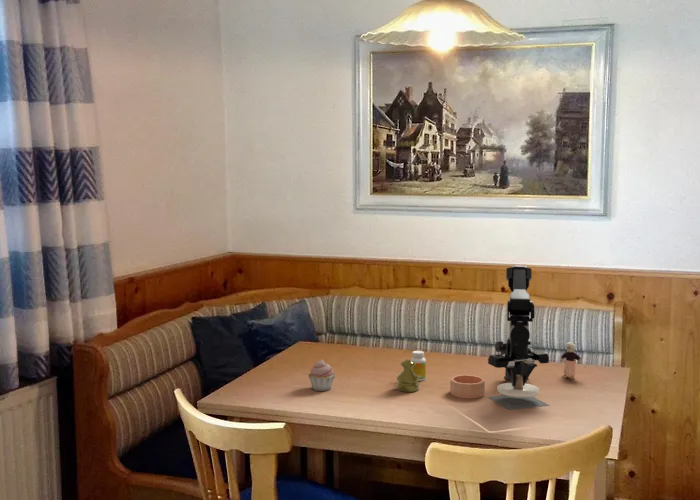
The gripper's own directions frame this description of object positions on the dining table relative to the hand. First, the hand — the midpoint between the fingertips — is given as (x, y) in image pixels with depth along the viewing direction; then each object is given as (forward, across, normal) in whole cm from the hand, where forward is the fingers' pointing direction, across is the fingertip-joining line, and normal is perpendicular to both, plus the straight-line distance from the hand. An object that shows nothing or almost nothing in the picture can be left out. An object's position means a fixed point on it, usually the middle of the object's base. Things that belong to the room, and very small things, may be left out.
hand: (518, 385), depth 245 cm
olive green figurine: (+6, +27, -25) cm, 37 cm away
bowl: (+6, +11, -13) cm, 18 cm away
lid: (+2, 0, 0) cm, 2 cm away
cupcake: (+6, +54, -35) cm, 65 cm away
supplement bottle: (+6, +19, -35) cm, 40 cm away
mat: (+6, 0, 0) cm, 6 cm away
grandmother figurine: (+6, -32, -19) cm, 38 cm away
